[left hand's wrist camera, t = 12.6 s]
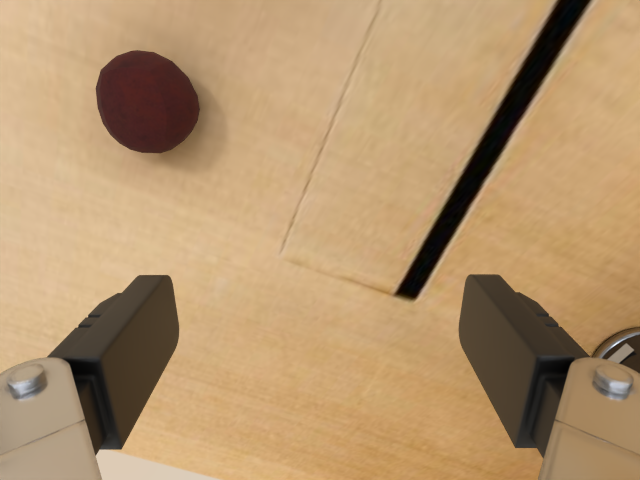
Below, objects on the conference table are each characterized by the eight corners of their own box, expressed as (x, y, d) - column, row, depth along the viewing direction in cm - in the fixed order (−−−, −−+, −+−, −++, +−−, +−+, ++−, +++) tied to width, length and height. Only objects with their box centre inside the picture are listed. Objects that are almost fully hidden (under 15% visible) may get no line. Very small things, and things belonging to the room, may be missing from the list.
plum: (137, 150, 37) (97, 165, 30) (111, 58, 34) (61, 53, 28) (216, 141, 37) (193, 154, 30) (196, 47, 34) (167, 39, 27)
